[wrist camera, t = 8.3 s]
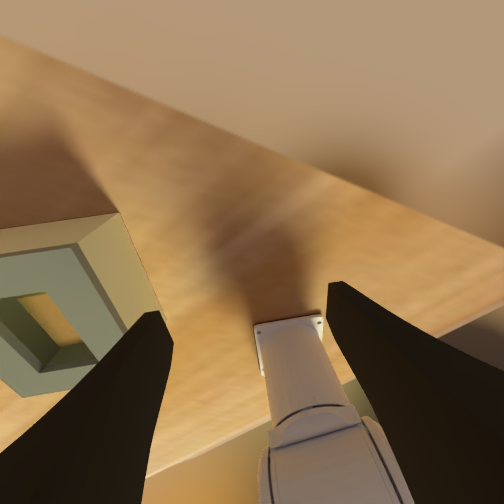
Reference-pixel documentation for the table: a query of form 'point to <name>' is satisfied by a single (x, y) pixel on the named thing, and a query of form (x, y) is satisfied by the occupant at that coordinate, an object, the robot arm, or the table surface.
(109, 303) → the coin box
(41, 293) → the block
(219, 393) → the table surface
